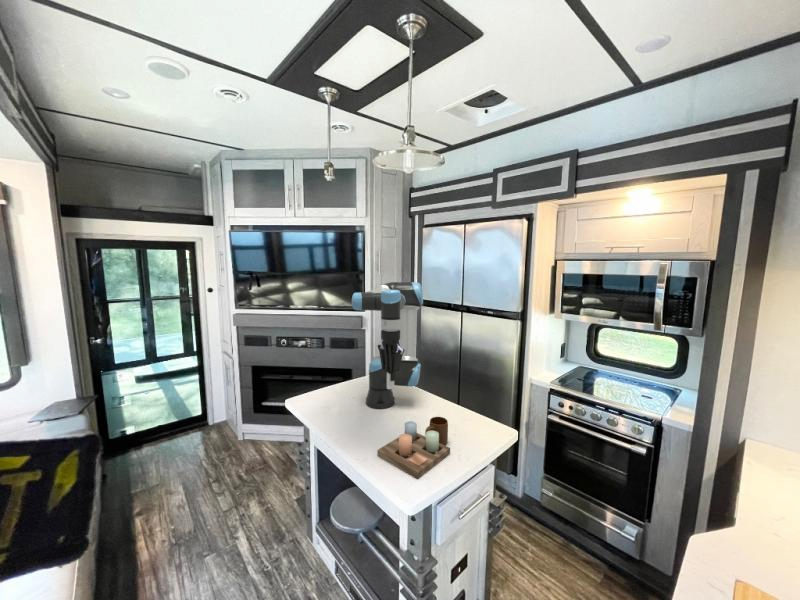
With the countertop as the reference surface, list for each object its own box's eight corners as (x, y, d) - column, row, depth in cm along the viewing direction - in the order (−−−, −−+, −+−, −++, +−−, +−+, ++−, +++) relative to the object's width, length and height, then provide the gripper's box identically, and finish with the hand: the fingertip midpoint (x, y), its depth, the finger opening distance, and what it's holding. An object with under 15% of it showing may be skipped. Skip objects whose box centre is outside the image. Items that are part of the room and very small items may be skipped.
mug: (433, 454, 128) (433, 431, 127) (418, 446, 133) (418, 424, 132) (451, 442, 136) (451, 420, 135) (436, 435, 142) (437, 414, 140)
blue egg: (409, 433, 138) (409, 420, 137) (419, 437, 135) (419, 424, 134) (401, 438, 134) (402, 424, 134) (411, 442, 131) (411, 428, 130)
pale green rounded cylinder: (430, 443, 131) (431, 429, 130) (441, 448, 127) (441, 433, 127) (423, 448, 127) (423, 434, 126) (433, 453, 124) (433, 438, 123)
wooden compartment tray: (410, 435, 141) (410, 428, 141) (450, 453, 128) (450, 446, 128) (377, 455, 127) (377, 448, 126) (417, 479, 113) (417, 470, 113)
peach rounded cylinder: (404, 447, 128) (404, 432, 127) (414, 452, 125) (414, 437, 124) (395, 452, 124) (396, 437, 124) (405, 457, 121) (406, 442, 120)
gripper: (372, 328, 130) (372, 386, 132) (395, 333, 121) (395, 395, 123) (386, 326, 135) (385, 381, 137) (409, 330, 126) (409, 389, 128)
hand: (390, 388), depth 130 cm, fingers closed
